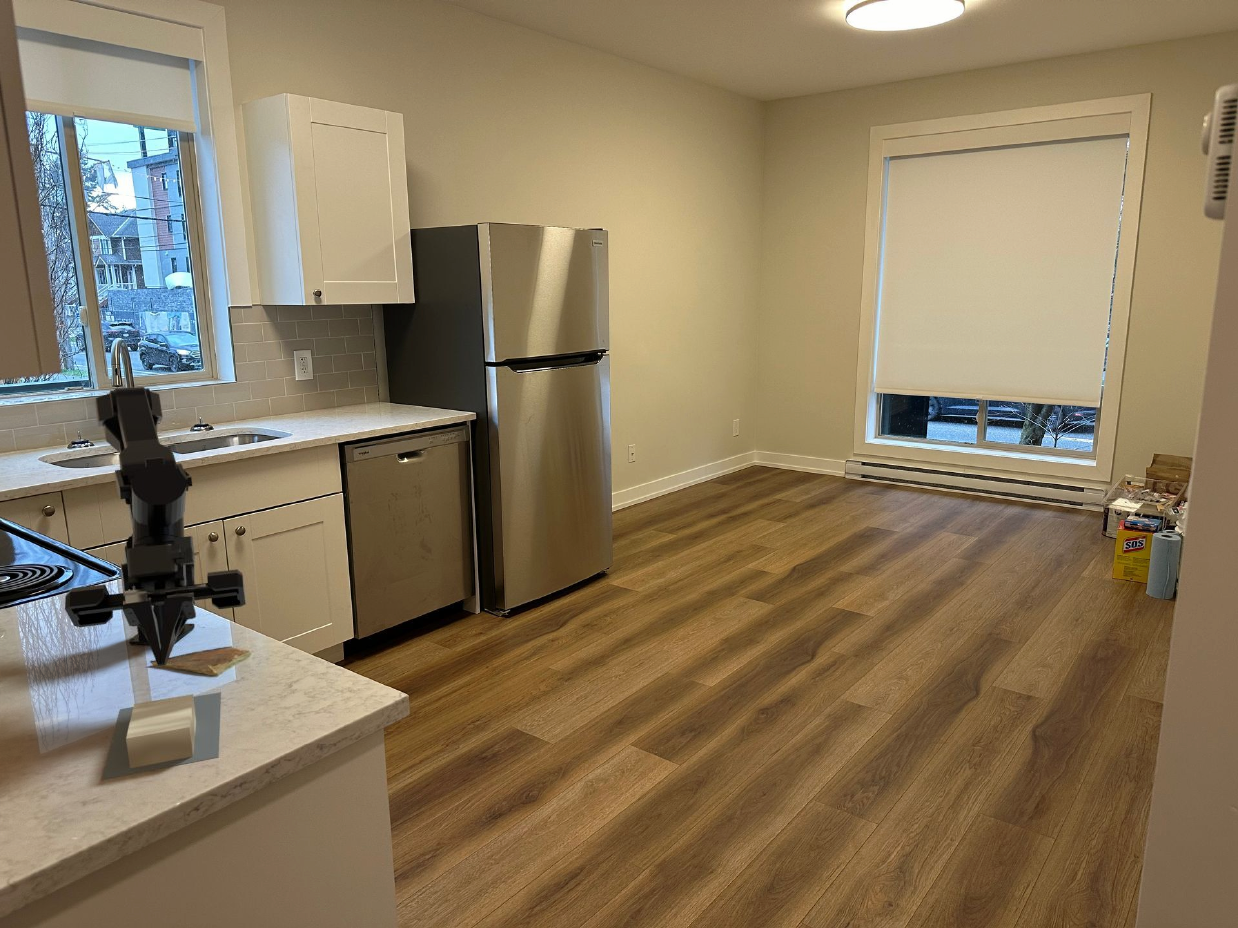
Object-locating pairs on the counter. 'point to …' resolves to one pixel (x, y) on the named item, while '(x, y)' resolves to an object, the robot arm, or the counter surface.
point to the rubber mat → (203, 750)
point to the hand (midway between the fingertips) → (161, 664)
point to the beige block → (161, 731)
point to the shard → (208, 660)
